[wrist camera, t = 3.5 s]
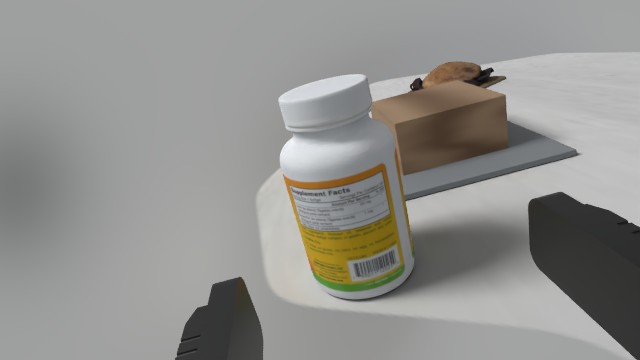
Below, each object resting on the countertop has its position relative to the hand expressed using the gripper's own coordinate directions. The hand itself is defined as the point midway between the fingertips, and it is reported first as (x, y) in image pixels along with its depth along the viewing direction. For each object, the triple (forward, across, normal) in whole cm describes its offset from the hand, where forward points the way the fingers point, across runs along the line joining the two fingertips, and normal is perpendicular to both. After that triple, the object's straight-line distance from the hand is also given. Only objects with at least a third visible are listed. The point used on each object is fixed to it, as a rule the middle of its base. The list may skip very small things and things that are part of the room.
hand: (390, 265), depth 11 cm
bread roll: (+41, -19, +7) cm, 46 cm away
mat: (+20, -9, +6) cm, 23 cm away
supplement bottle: (+8, 0, +6) cm, 11 cm away
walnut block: (+22, -9, +6) cm, 24 cm away
